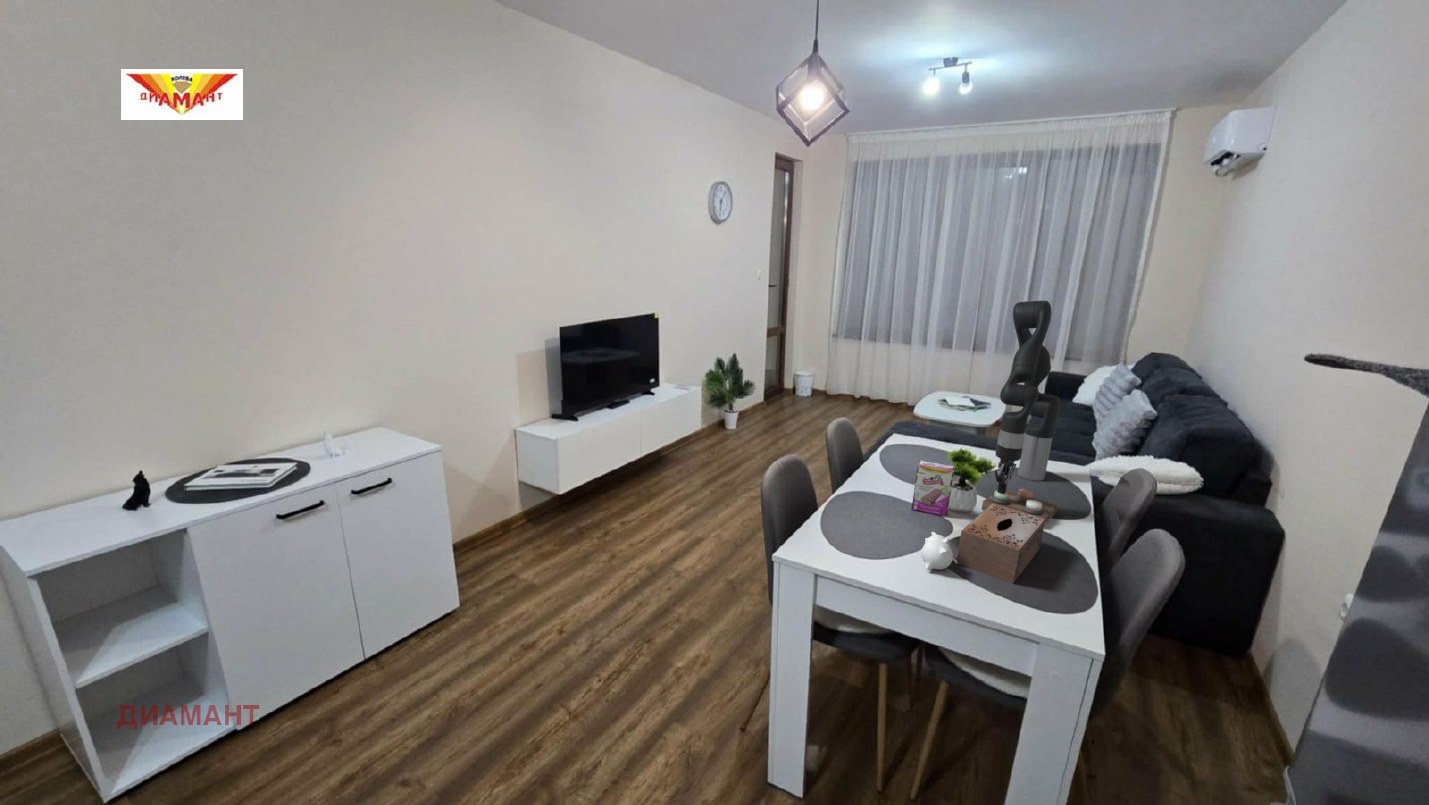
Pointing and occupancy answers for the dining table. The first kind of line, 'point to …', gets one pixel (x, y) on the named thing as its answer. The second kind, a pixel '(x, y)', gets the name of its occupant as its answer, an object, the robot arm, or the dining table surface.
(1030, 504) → the cream button
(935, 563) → the cat figurine
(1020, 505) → the walnut button panel
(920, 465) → the candy bar box
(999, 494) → the sage-green button
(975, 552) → the tissue box cover
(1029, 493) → the terracotta button
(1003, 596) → the dining table surface
